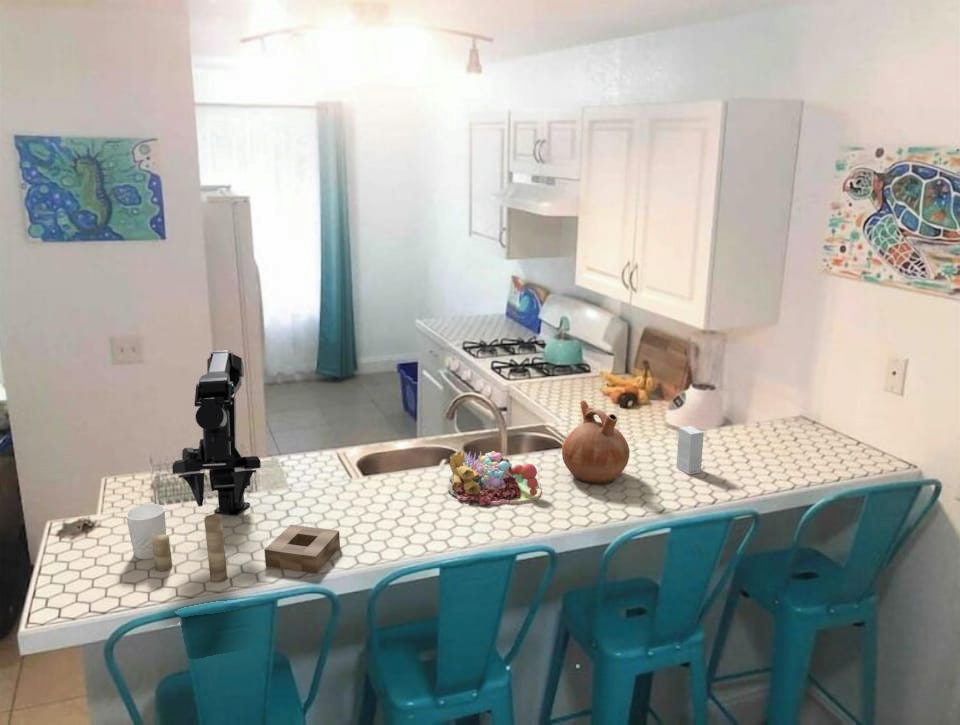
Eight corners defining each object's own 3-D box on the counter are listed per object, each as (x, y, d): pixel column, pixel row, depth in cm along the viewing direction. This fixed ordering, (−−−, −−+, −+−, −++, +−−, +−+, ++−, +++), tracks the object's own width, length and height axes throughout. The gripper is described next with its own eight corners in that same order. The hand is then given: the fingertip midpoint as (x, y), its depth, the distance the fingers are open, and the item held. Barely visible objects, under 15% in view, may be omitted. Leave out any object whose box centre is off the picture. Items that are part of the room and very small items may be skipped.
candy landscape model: (458, 512, 199) (458, 478, 196) (437, 475, 221) (437, 444, 218) (552, 501, 205) (553, 467, 203) (523, 466, 227) (524, 435, 225)
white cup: (174, 543, 183) (169, 503, 180) (162, 561, 175) (157, 519, 173) (139, 544, 183) (134, 503, 180) (125, 561, 175) (120, 520, 172)
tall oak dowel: (216, 573, 170) (210, 513, 167) (230, 575, 170) (224, 515, 166) (207, 581, 167) (200, 520, 163) (221, 583, 166) (215, 522, 163)
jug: (548, 469, 224) (550, 401, 218) (603, 459, 231) (606, 393, 226) (583, 495, 208) (586, 422, 202) (641, 483, 215) (645, 412, 210)
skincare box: (701, 473, 222) (704, 432, 218) (688, 475, 220) (691, 434, 217) (688, 465, 227) (691, 425, 224) (675, 467, 226) (678, 427, 222)
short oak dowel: (161, 562, 175) (158, 533, 173) (175, 564, 174) (172, 535, 172) (152, 570, 171) (148, 540, 170) (165, 572, 171) (162, 542, 169)
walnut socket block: (291, 540, 184) (290, 524, 183) (340, 546, 181) (339, 530, 180) (265, 566, 173) (264, 549, 172) (316, 573, 170) (315, 556, 169)
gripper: (233, 436, 190) (236, 502, 188) (158, 437, 176) (160, 509, 174) (260, 431, 183) (263, 500, 181) (185, 432, 169) (187, 507, 167)
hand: (219, 504), depth 176 cm, fingers open, 9 cm apart
